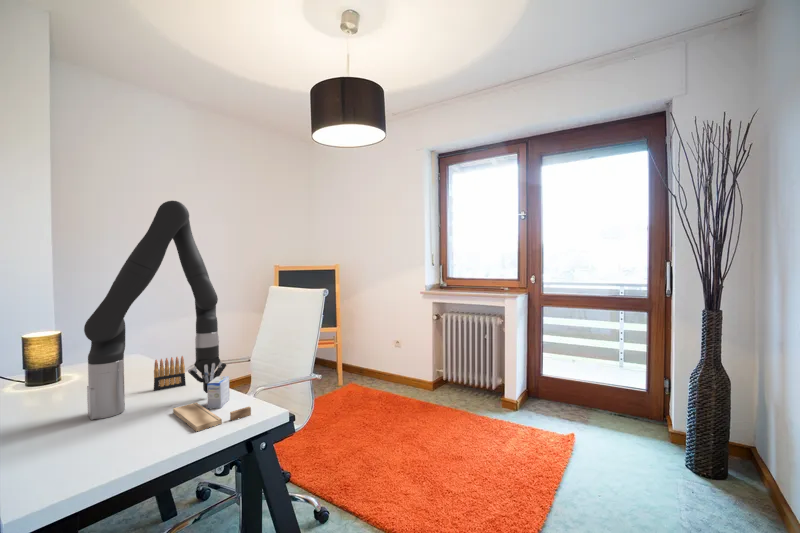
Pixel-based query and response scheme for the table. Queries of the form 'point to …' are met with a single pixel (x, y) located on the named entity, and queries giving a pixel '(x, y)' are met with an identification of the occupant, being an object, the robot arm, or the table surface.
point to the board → (197, 416)
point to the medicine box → (218, 391)
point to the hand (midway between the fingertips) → (208, 392)
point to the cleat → (240, 413)
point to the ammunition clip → (172, 379)
